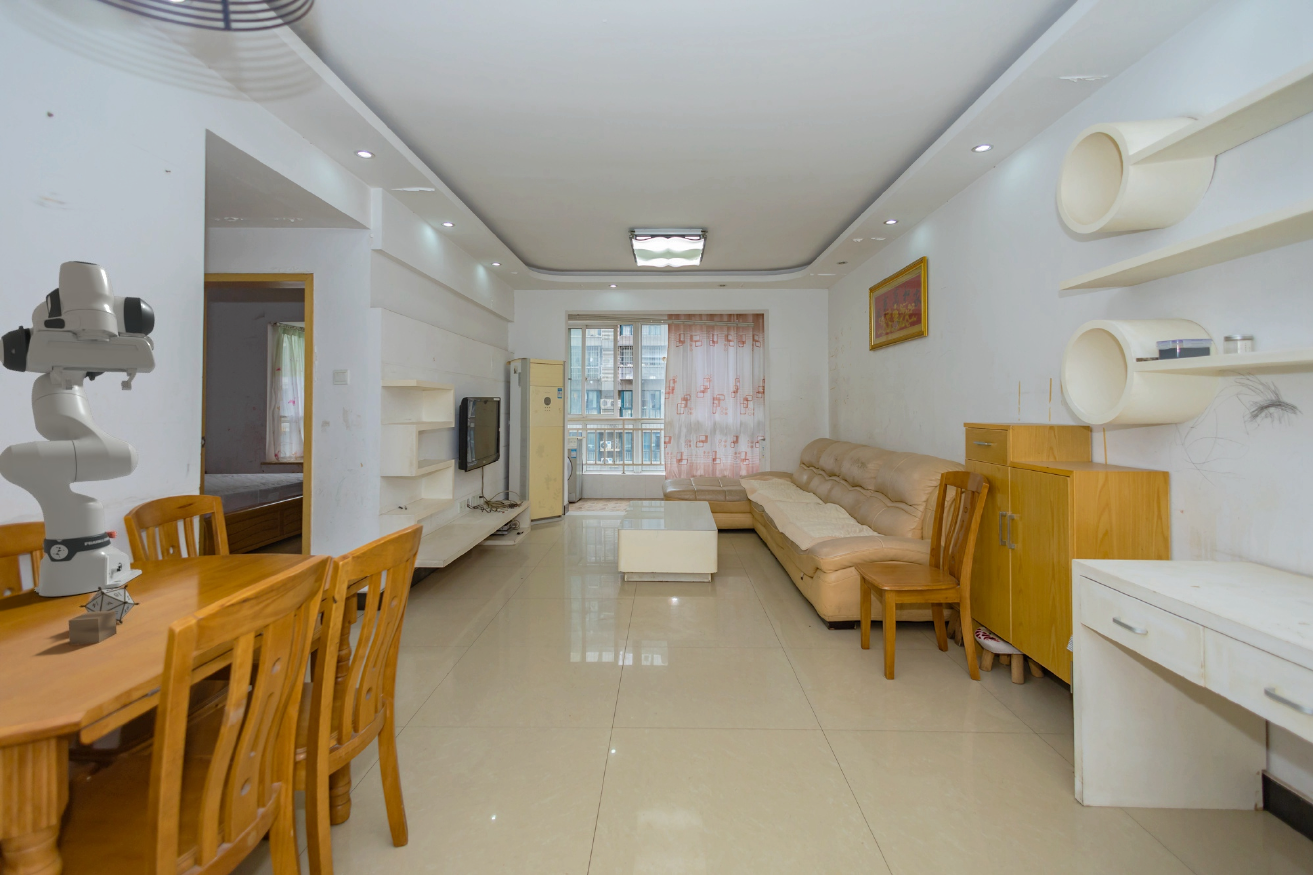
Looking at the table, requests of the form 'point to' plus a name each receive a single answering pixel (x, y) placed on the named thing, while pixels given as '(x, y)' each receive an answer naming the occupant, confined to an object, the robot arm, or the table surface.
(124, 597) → the game die
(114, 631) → the walnut cube
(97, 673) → the table surface
